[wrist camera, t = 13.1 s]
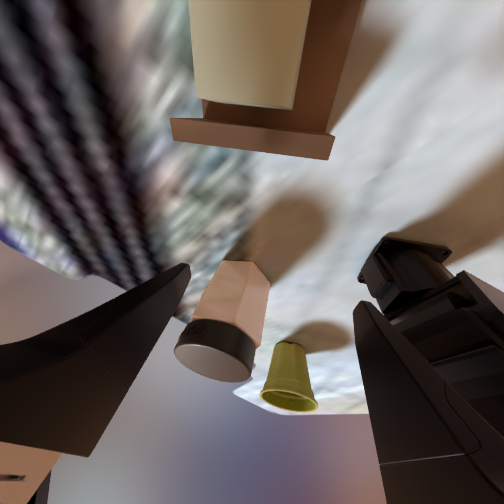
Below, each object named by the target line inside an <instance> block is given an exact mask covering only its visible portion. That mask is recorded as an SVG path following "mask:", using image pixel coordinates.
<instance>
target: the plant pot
mask: <svg viewBox="0 0 504 504" xmlns="http://www.w3.org/2000/svg"><path fill="white" fill-rule="evenodd" d="M260 397H261V399H262V400H263V401H265V402H266V403H268V404H270V405H272V406H275V407H277V408H280V409H284V410H288V411H295V412H312V411H315V410H316V409H317V408H318V404H317V402H316V400H315V399H314V394H313V391H312V389H311V384H310V379H309V373H308V367H307V361H306V355H305V351H304V349H303V348H302V347H301V346H299V345H297V344H295V343H293V344H289V343H287V342H281V343H278V344H276V345H275V347H274V351H273V355H272V359H271V364H270V368H269V372H268V376H267V380H266V382H265V384H264V388H263V390H262V391H261V392H260Z"/></svg>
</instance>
